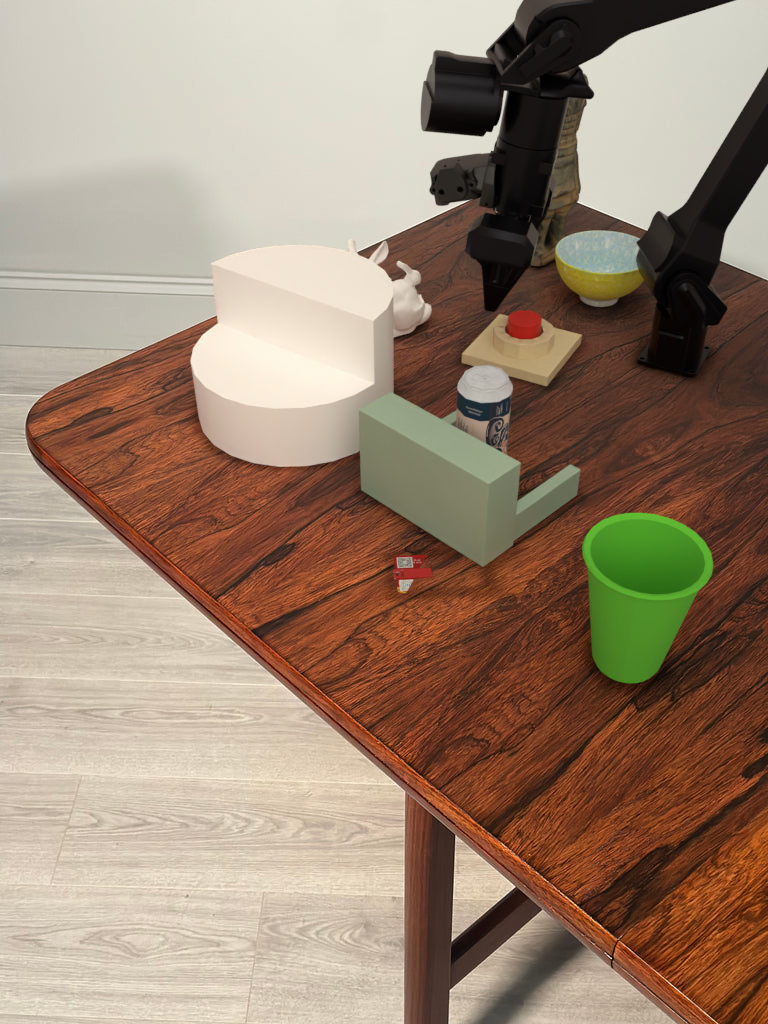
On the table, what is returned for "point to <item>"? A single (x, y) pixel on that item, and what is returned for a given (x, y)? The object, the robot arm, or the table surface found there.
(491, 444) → the beer can
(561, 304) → the table surface
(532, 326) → the button
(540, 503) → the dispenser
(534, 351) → the button box
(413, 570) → the toy pistol
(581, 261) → the bowl
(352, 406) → the white stepped cylinder
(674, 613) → the cup
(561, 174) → the statue
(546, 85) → the robot arm
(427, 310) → the rabbit figurine
